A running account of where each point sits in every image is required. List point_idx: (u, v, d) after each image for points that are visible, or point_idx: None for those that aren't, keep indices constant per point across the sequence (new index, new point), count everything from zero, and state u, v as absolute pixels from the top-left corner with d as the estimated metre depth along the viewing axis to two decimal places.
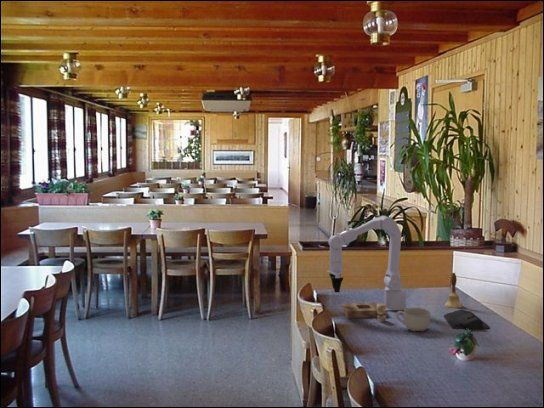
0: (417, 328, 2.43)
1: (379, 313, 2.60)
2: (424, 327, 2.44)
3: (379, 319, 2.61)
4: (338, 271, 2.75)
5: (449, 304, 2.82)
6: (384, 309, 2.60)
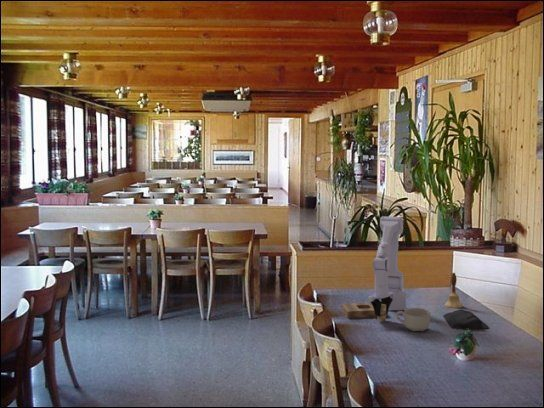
0: (417, 328, 2.43)
1: None
2: (424, 327, 2.44)
3: (379, 319, 2.61)
4: (378, 295, 2.59)
5: (449, 304, 2.82)
6: (384, 309, 2.60)
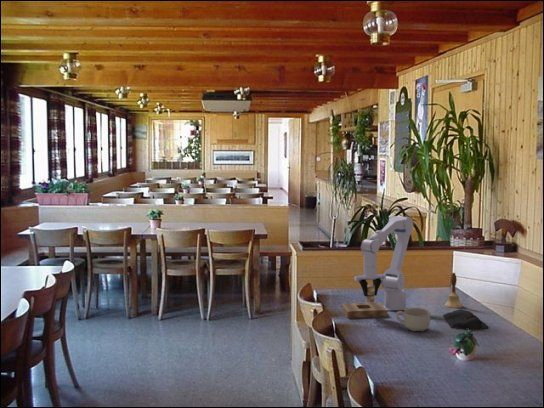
0: (417, 328, 2.43)
1: (367, 293, 2.68)
2: (424, 327, 2.44)
3: (367, 299, 2.69)
4: (365, 275, 2.67)
5: (449, 304, 2.82)
6: (371, 290, 2.67)
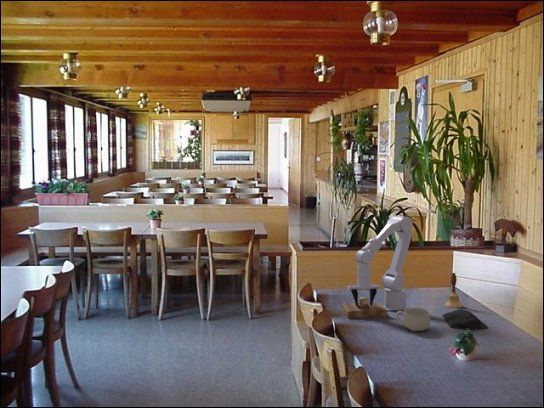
0: (417, 328, 2.43)
1: (360, 305, 2.74)
2: (424, 327, 2.44)
3: None
4: (358, 285, 2.73)
5: (449, 304, 2.82)
6: (364, 302, 2.72)
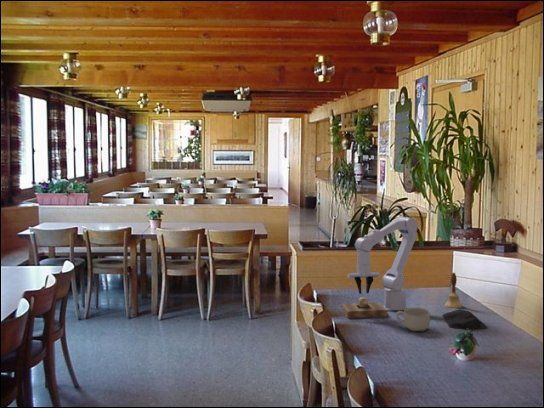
0: (417, 328, 2.43)
1: (360, 305, 2.74)
2: (424, 327, 2.44)
3: None
4: (358, 273, 2.72)
5: (449, 304, 2.82)
6: (364, 302, 2.72)
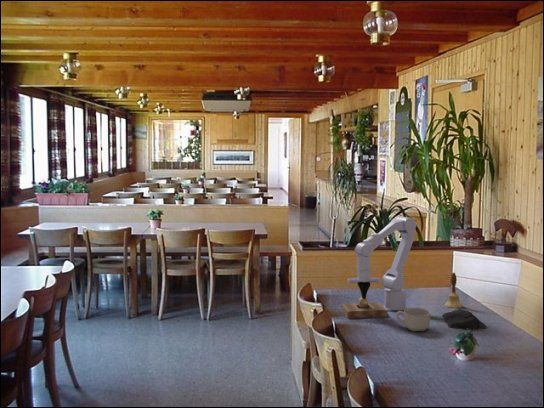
0: (417, 328, 2.43)
1: (360, 305, 2.74)
2: (424, 327, 2.44)
3: None
4: (358, 278, 2.72)
5: (449, 304, 2.82)
6: (364, 302, 2.72)
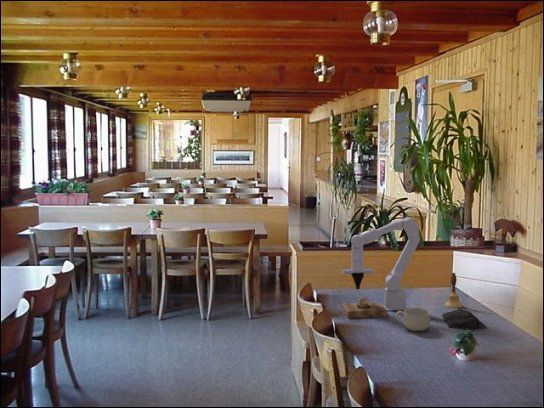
0: (417, 328, 2.43)
1: (360, 305, 2.74)
2: (424, 327, 2.44)
3: None
4: (352, 269, 2.81)
5: (449, 304, 2.82)
6: (364, 302, 2.72)
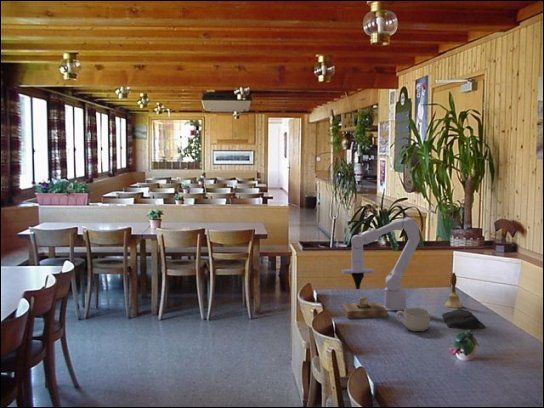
0: (417, 328, 2.43)
1: (360, 305, 2.74)
2: (424, 327, 2.44)
3: None
4: (352, 269, 2.81)
5: (449, 304, 2.82)
6: (364, 302, 2.72)
